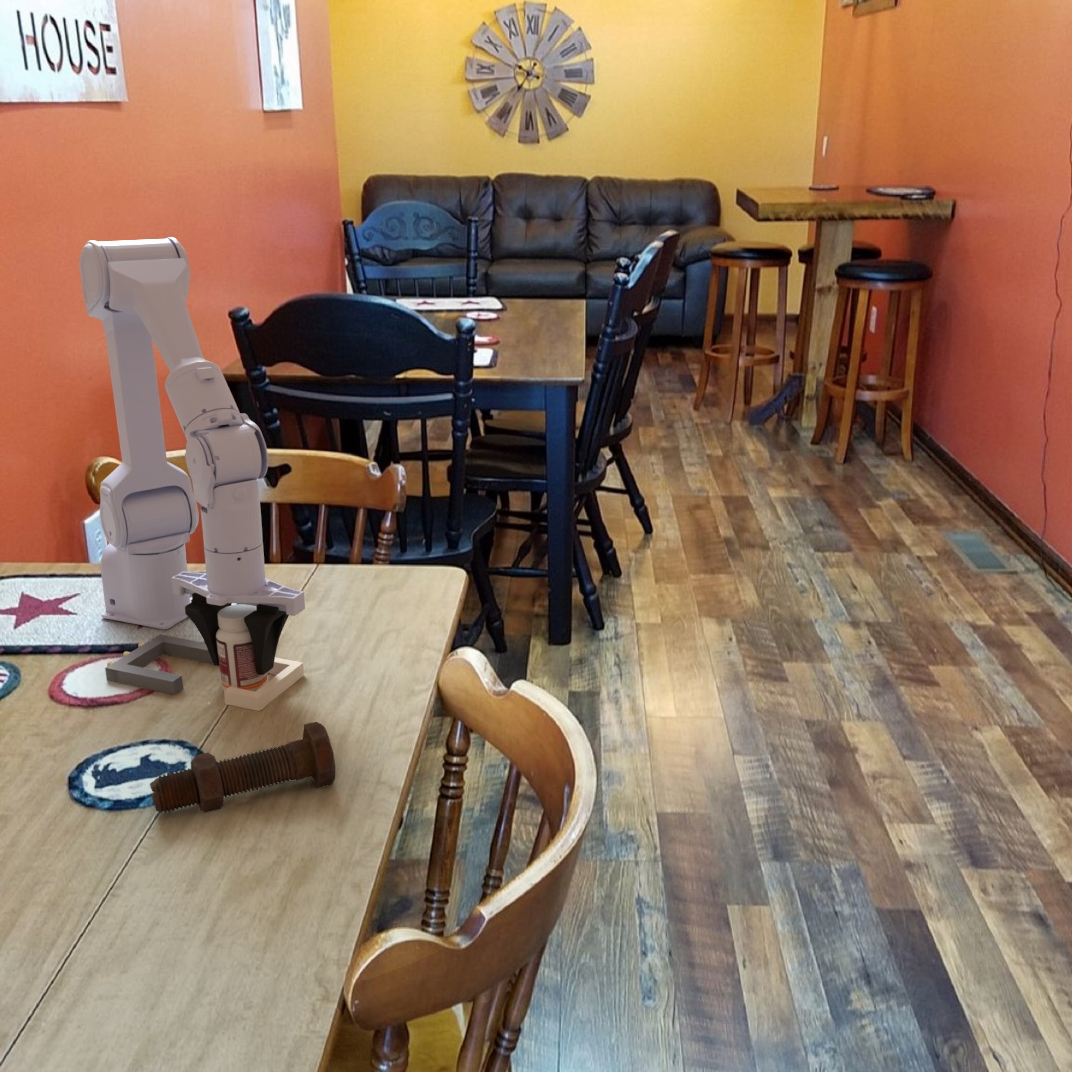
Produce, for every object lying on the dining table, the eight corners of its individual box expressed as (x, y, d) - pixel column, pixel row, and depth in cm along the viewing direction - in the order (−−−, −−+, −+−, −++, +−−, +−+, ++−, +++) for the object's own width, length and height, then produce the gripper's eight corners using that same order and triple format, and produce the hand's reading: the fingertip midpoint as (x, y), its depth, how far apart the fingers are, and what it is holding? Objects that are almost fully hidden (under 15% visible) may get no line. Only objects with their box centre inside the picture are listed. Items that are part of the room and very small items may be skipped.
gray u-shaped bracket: (97, 678, 118) (95, 665, 118) (152, 644, 126) (151, 632, 126) (174, 694, 115) (172, 681, 115) (225, 658, 123) (224, 646, 123)
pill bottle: (274, 676, 119) (268, 603, 116) (257, 697, 115) (251, 622, 112) (232, 673, 120) (225, 600, 117) (213, 693, 115) (205, 619, 112)
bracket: (225, 704, 113) (223, 690, 113) (271, 669, 121) (270, 656, 120) (259, 711, 112) (258, 697, 112) (303, 675, 120) (303, 662, 119)
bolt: (157, 830, 96) (328, 784, 102) (161, 832, 92) (340, 785, 98) (144, 762, 97) (315, 721, 103) (147, 761, 92) (326, 719, 98)
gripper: (147, 546, 111) (160, 670, 115) (273, 567, 106) (282, 695, 111) (191, 525, 117) (202, 643, 122) (312, 543, 112) (319, 665, 117)
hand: (243, 666), depth 117 cm, fingers closed on pill bottle, 5 cm apart
